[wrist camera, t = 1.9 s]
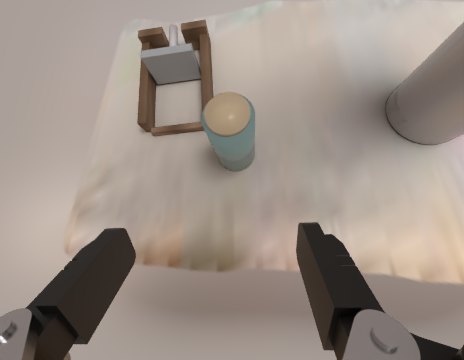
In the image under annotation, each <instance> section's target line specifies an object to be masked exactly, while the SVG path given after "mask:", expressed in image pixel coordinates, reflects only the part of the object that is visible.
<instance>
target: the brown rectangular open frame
mask: <svg viewBox="0 0 464 360" xmlns="http://www.w3.org/2000/svg"><path fill="white" fill-rule="evenodd" d="M181 31H182V34H183V36H184V39H185V42H186V44H189V43H192V46H193V49H194V50H199V49H200V60H201V87H202V112H203V109H204V107H205V106H206V104H207V103H208V102H209V101H210V100H211V99H212V98H213V81H212V62H211V44H210V38H209V34H208V29H207V25H206V20H201V21H195V22H188V23H182V24H181ZM138 38H139V39H140V41H141V43H142V51H144V50H150V49H157V48H163V47H169V42H168V40H167V37H166V35H165V33H164V31H163V28H162V27H158V28H152V29H146V30H140V31H138ZM155 98H156V81H155V79H154V77H153V76H152V74H151V73H150V71H149V70H148V68H147V67H146V65H145V64H144V62H143V61H142V59H141V70H140V88H139V106H138V123H137V124H139V125H140V126H141V127H142V128H143V129H144V130H145V131H146V132H151V133H152V134H153V135H154V136H159V135H167V134H176V133H185V132H193V131H202V130H204V127H203V125H202V122H196V123H188V124H179V125H171V126H163V127H155Z"/></svg>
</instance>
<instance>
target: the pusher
mask: <svg viewBox="0 0 464 360" xmlns="http://www.w3.org/2000/svg"><path fill="white" fill-rule="evenodd" d="M141 59H142V61H143V62H144V64H145V65H146V67H147V68H148V70H149V71H150V73H151V74H152V76H153V77H154V79H155V81H156V82H157V84H164V83H171V82H179V81H186V80H193V79H200V78H201V70H200V67H199V64H198V61H197V58H196V55H195V52H194V49H193V46H192V43H189V44H183V45H178V37H177V27H176V26H175V25H170V27H169V47H163V48H157V49H150V50H144V51H141Z"/></svg>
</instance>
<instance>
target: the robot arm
mask: <svg viewBox="0 0 464 360" xmlns="http://www.w3.org/2000/svg"><path fill="white" fill-rule="evenodd" d="M386 113H387V117H388V120H389V122H390V124H391V125H392V126H393V128H394V129H395V130H396V131H397V132H398V133H399V134H401V135H402V136H404V137H405V138H407V139H409V140H411V141H414V142H417V143H421V144H431V145H433V144H441V143H444V142H447V141H449V140H452V139H454V138H456V137H458V136H460V135H462V134H464V22H463V23H462V24H461V25H460V26H459V27H458V28H457V29H456V30H455V31H454V32H453V33H452V34H451V35H450V36H449V37H448V38H447V39H446V40H445V41H444V42H443V43H442V44H441V45H440V46H439V47H438V48H437V49H436V50H435V51H434V52H433V53H432V54H431V55H430V56H429V57H428V58H427V59H426V60H425V61H424V62H423V63H422V64H421V65H420V66H419V67H418V68H417V69H416V70H415V71H414V72H413V73H412V74H411V75H410V76H409V77H408V78H407V79H406V80H405V81H404V82H403V83H402V84H400V85H399V86H398V87H397V88H396V89H395V90H394V91H393V92H392V94H391V95H390V97H389V98H388V101H387V103H386ZM296 253H297V260H298V264H299V268H300V271H301V275H302V278H303V281H304V285H305V288H306V291H307V295H308V298H309V302H310V305H311V308H312V312H313V315H314V318H315V322H316V325H317V328H318V332H319V335H320V339H321V342H322V346H323V349H324V350H334V352H335V354H336V357H337V360H464V345H463V347H462V348H461V349H460V350H459V349H456V348H452V347H449V346H446V345H443V344H440V343H437V342H434V341H431V340H427V339H424V338H422V337H419V336H416V335H414V334H412V333H410V332H409V331H408V330H407V329H406V328H405V327H404V326H403V325H402V324H401V323H400V322H398V321H397V320H396V319H394V318H393V317H391V316H389V315H388V314H386V313H385V312H384V311H383V309H382V308H381V306H380V305H379V303H378V301H377V300H376V298H375V296H374V295H373V293H372V291H371V290H370V288H369V286H368V285H367V283H366V281H365V280H364V278H363V276H362V275H361V273H360V271H359V270H358V268H357V267H356V266H355V263H354V261H353V260H352V258H351V257H350V255H349V253H348V251H347V250H346V248H345V246H344V245H343V243H342V242H341V241H339V240H338V239H337V238H336V237H335V236H334V235H332V234H326V235H324V233H323V231H322V229H321V227H320V225H319V224H318V223H317V222H313V223H299V225H298V236H297V247H296ZM135 258H136V253H135V250H134V247H133V245H132V243H131V240H130V238H129V235H128V233H127V231H126V229H124V228H108V229H105V230H104V231H103V232H102V233H101V234H100V235H99V236H98V237H97V238H96V239H95V240H94V241H92V242H91V243H89V244H88V245H87V246H85V247H84V248H82V249H81V250H80V251H79V252H78V253H77V254H76V256H75V257H74V258H73V259H72V261H70V262H69V263H68V264H67V265H66V266H65V267H64V270H61V271H60V273H59V274H58V275H57V276H56V277H55V278H54V279H53V280H52V281H51V282H50V283H49V284H48V285H47V286H46V287H45V288H44V290H43V291H42V292H41V293H40V294H39V295H38V296H37V297H36V298H35V299H34V300H33V301H32V302H31V303H30V304H29V306H27V307H26V308H24V309H17V310H14V311H11V312H9V313H7V314H5V315H3V316H1V317H0V360H70V354H69V352H68V351H69V350H70V348H71V347H72V345H73V344H88V342H89V340H90V338H91V337H92V335H93V333H94V331H95V330H96V328H97V326H98V325H99V323H100V321H101V319H102V318H103V316H104V314H105V313H106V311H107V309H108V308H109V306H110V304H111V302H112V301H113V299H114V297H115V295H116V294H117V292H118V291H119V289H120V287H121V285H122V284H123V282H124V280H125V278H126V277H127V275H128V273H129V272H130V270H131V268H132V267H133V265H134V262H135Z"/></svg>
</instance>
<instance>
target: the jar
mask: <svg viewBox="0 0 464 360" xmlns="http://www.w3.org/2000/svg"><path fill="white" fill-rule="evenodd" d="M202 125H203V127H204V130H205V132H206V134H207V136H208V138H209V140H210V142H211V144H212V146H213V148H214V150H215V152H216V154H217V156H218V158H219V160H220V162H221V164H222V165H223V166H224V167H225V168H226V169H228V170H231V171H241V170H244V169H246V168H247V167H249V166H250V164H251V163H252V161H253V159H254V154H255V111H254V108H253V105H252V104H251V102H250V101H249V100H248V99H247V98H245V97H244V96H242V95H240V94H237V93H232V92H225V93H221V94H218V95H216V96H215V97H213V98H212V99H211V100H210V101H209V102H208V103H207V104H206V106H205V107H204V109H203V112H202Z"/></svg>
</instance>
